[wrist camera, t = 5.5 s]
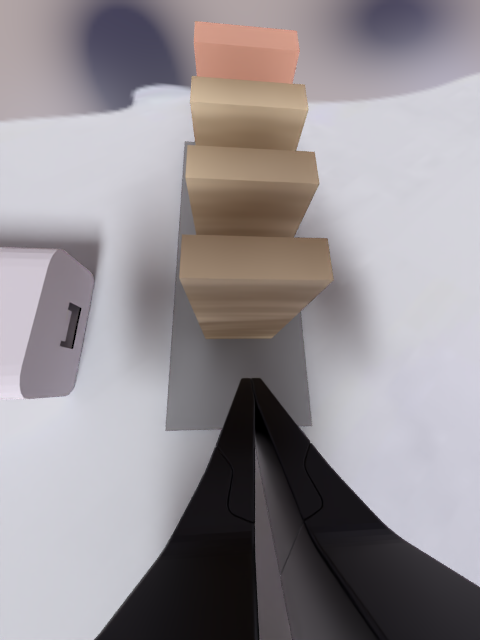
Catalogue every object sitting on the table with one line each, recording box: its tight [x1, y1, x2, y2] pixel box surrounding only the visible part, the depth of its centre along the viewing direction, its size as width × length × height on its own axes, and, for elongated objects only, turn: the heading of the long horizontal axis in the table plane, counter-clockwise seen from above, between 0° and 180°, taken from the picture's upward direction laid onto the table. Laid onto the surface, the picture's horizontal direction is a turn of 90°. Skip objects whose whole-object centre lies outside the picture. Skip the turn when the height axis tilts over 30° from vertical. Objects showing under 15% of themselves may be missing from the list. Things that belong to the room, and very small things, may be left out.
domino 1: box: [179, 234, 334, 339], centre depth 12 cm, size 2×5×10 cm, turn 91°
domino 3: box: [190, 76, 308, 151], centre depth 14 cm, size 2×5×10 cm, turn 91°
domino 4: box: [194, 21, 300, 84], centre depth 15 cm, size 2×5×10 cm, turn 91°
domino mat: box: [166, 142, 312, 431], centre depth 19 cm, size 26×10×1 cm, turn 1°
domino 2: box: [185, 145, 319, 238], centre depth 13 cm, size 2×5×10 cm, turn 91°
